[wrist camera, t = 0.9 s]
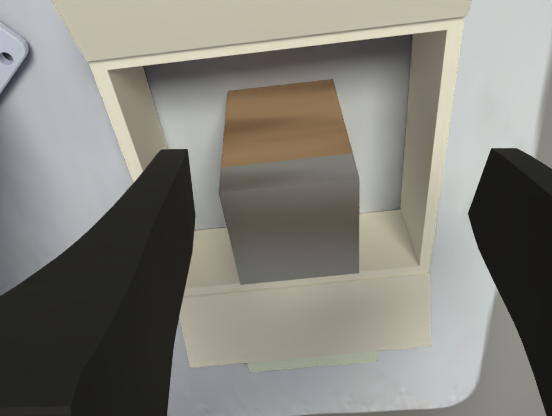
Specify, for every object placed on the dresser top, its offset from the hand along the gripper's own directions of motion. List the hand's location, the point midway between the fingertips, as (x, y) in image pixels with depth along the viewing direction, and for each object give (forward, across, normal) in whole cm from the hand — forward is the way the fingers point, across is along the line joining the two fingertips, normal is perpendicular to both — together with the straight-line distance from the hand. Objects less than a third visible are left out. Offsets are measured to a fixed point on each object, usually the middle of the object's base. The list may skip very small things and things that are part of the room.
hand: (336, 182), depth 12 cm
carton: (+10, +1, +5) cm, 11 cm away
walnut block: (+10, +1, +5) cm, 11 cm away
